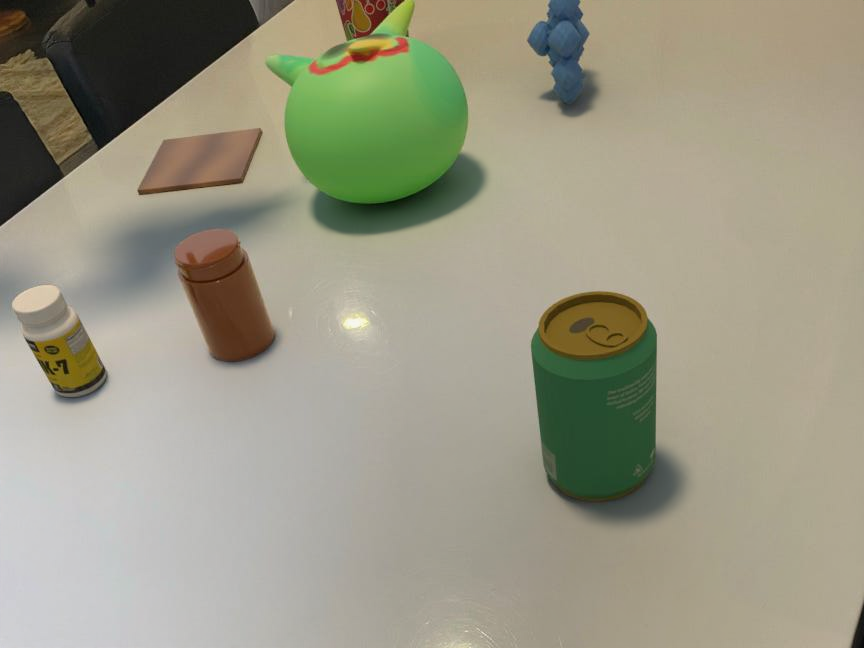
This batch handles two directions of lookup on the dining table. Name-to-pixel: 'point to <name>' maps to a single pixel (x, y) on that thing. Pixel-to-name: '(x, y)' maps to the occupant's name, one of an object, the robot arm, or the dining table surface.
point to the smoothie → (364, 15)
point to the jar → (224, 294)
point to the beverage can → (596, 394)
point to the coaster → (201, 161)
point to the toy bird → (374, 114)
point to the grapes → (562, 46)
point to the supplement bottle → (59, 341)
